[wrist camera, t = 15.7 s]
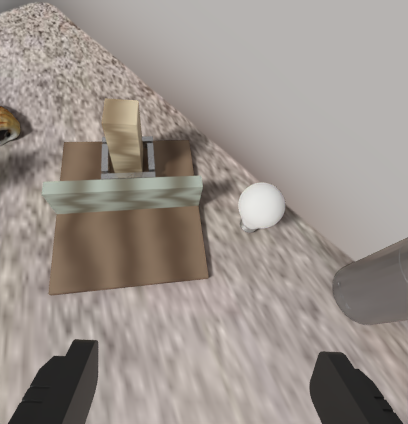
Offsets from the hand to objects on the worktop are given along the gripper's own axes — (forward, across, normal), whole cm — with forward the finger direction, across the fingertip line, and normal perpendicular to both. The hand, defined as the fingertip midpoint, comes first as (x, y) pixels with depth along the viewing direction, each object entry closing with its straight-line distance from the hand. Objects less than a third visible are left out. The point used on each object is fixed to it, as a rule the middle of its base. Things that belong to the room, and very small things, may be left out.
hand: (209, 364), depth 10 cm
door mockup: (+37, +9, +6) cm, 38 cm away
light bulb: (+36, -10, +8) cm, 38 cm away
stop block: (+42, +10, 0) cm, 43 cm away
